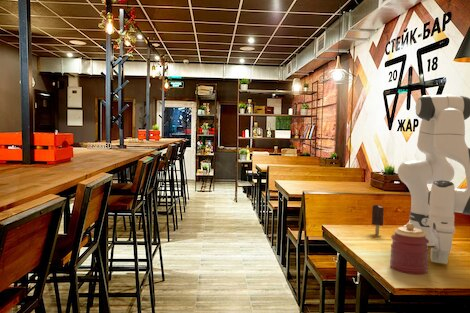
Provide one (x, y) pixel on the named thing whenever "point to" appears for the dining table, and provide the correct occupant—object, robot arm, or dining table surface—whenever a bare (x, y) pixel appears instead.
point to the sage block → (435, 256)
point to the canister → (409, 250)
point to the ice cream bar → (377, 217)
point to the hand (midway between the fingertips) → (439, 257)
